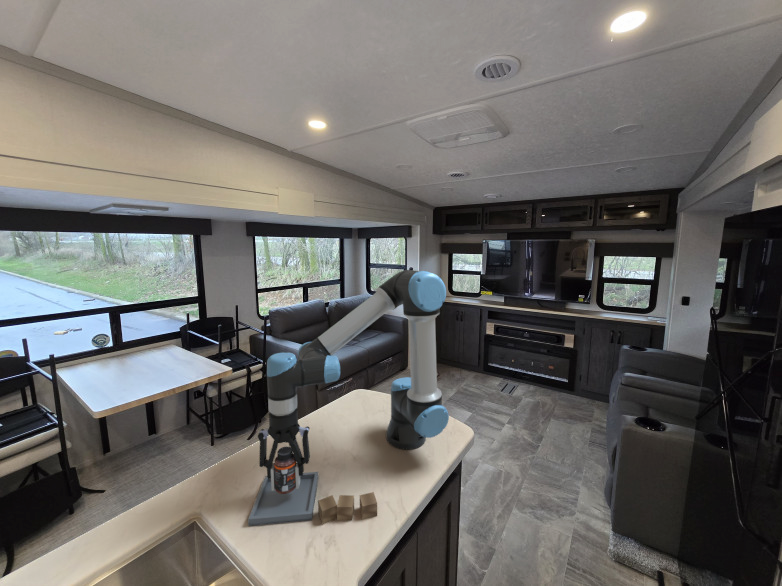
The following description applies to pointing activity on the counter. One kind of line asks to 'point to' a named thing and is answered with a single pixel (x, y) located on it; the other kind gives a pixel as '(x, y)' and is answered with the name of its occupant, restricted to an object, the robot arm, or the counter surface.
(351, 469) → the counter surface
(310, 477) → the tray
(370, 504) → the block
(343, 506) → the block
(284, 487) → the supplement bottle
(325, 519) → the block
